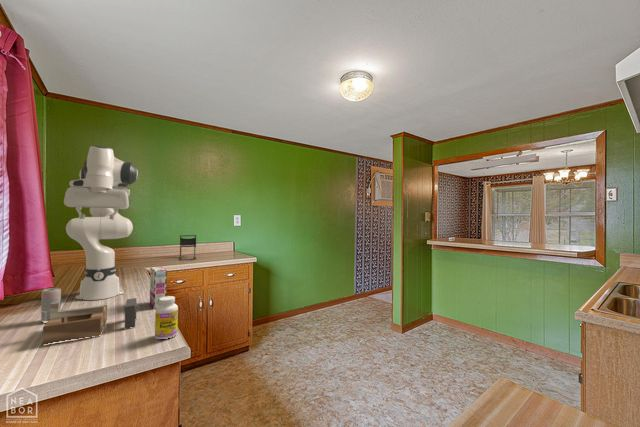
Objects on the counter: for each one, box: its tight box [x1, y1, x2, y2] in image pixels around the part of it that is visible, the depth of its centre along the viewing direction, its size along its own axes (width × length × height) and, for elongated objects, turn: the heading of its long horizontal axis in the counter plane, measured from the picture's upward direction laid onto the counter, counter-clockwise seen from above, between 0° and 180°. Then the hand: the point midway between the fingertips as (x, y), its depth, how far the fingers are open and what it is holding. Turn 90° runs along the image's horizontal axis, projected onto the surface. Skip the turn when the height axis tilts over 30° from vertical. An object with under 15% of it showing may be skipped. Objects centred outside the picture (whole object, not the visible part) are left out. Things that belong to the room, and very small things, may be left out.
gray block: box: [124, 297, 137, 329], centre depth 104 cm, size 10×3×8 cm, turn 31°
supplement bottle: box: [154, 295, 179, 340], centre depth 94 cm, size 7×7×13 cm
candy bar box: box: [149, 266, 168, 309], centre depth 125 cm, size 11×5×16 cm, turn 40°
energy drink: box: [40, 287, 62, 322], centre depth 105 cm, size 5×5×12 cm
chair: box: [179, 234, 197, 261], centre depth 249 cm, size 13×17×22 cm
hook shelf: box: [42, 302, 108, 345], centre depth 96 cm, size 16×14×11 cm
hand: (97, 219), depth 111 cm, fingers open, 8 cm apart
